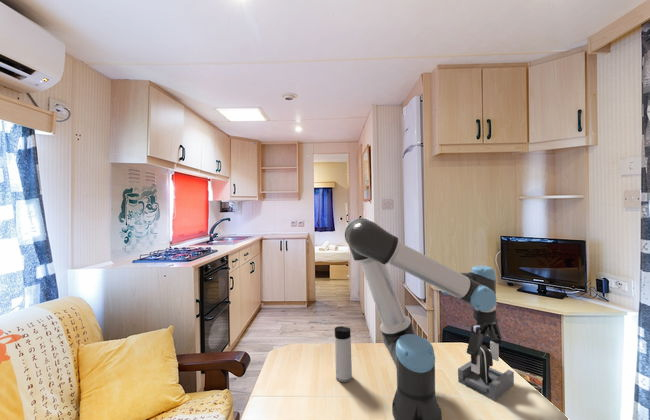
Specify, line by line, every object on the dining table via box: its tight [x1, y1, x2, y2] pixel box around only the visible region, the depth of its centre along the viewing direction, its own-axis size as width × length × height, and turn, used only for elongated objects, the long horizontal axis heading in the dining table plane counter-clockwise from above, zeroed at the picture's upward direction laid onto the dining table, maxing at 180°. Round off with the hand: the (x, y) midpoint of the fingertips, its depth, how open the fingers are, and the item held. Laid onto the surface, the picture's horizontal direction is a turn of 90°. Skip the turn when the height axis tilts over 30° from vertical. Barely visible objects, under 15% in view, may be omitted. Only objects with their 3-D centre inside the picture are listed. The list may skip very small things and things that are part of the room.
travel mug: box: [334, 325, 353, 383], centre depth 111 cm, size 6×7×20 cm
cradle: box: [457, 360, 515, 402], centre depth 105 cm, size 14×13×5 cm
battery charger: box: [478, 344, 494, 383], centre depth 105 cm, size 7×4×11 cm, turn 173°
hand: (485, 365), depth 105 cm, fingers open, 13 cm apart
